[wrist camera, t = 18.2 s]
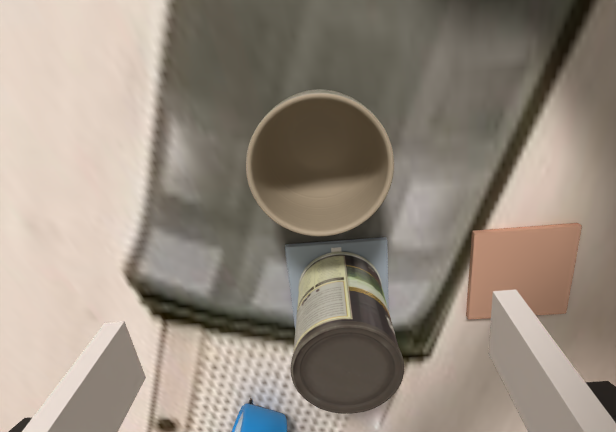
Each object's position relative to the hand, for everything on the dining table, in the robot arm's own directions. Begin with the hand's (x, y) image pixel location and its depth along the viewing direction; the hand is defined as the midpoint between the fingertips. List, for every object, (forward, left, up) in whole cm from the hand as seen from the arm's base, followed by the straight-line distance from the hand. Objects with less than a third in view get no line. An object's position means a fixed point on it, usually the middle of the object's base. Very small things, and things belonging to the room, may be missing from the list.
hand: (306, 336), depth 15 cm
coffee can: (+18, +2, -31) cm, 36 cm away
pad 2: (+18, +24, -32) cm, 44 cm away
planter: (0, +1, -32) cm, 32 cm away
